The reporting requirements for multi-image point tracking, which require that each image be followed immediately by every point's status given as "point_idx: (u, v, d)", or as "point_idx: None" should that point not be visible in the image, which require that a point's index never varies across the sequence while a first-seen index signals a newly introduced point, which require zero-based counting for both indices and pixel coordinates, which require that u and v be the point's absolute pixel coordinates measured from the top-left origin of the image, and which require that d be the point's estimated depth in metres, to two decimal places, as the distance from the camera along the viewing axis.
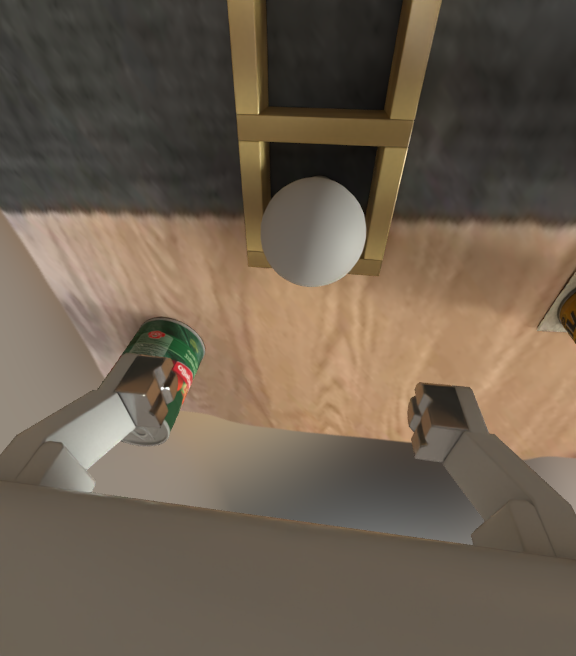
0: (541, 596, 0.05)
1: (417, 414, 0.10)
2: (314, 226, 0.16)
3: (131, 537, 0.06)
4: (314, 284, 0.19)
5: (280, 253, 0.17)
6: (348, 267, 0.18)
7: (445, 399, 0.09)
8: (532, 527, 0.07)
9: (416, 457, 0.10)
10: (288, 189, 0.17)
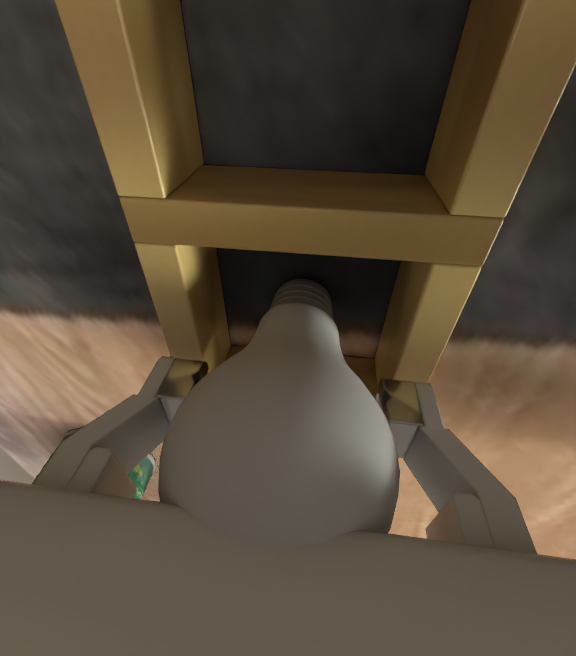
0: (541, 596, 0.05)
1: None
2: None
3: (131, 537, 0.06)
4: None
5: None
6: None
7: (404, 395, 0.09)
8: (474, 519, 0.07)
9: None
10: (209, 414, 0.07)
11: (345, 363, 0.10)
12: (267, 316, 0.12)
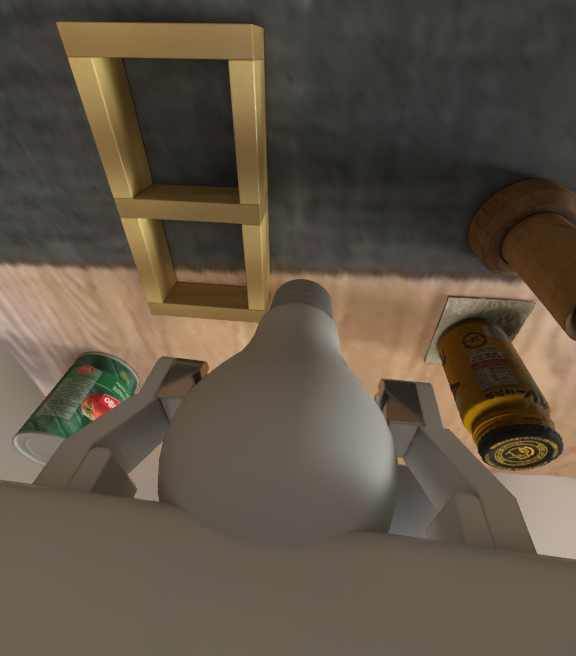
0: (541, 596, 0.05)
1: None
2: None
3: (131, 537, 0.06)
4: None
5: None
6: None
7: (404, 395, 0.09)
8: (474, 519, 0.07)
9: None
10: (208, 415, 0.07)
11: (344, 364, 0.10)
12: (267, 317, 0.12)
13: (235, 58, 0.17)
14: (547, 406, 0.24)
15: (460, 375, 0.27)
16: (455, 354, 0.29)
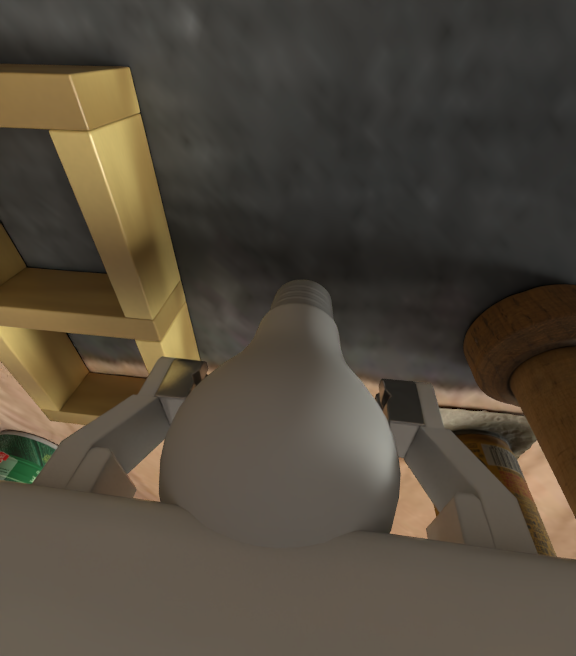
0: (541, 596, 0.05)
1: None
2: None
3: (131, 537, 0.06)
4: None
5: None
6: None
7: (405, 395, 0.09)
8: (475, 520, 0.07)
9: None
10: (210, 416, 0.07)
11: (345, 364, 0.10)
12: (267, 317, 0.12)
13: (58, 128, 0.10)
14: None
15: None
16: None
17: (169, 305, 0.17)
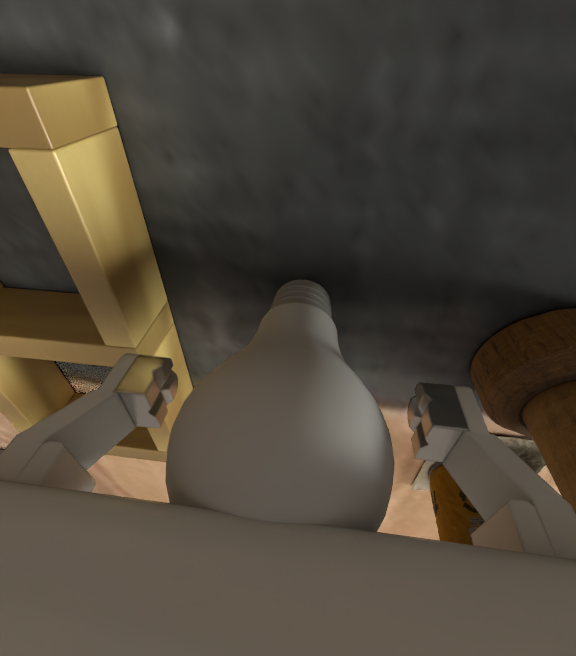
0: (541, 596, 0.05)
1: (417, 414, 0.10)
2: None
3: (131, 537, 0.06)
4: None
5: None
6: None
7: (445, 399, 0.09)
8: (532, 527, 0.07)
9: (416, 457, 0.10)
10: (214, 407, 0.07)
11: (343, 360, 0.10)
12: (268, 315, 0.12)
13: (19, 147, 0.09)
14: None
15: None
16: (450, 512, 0.20)
17: (154, 329, 0.15)
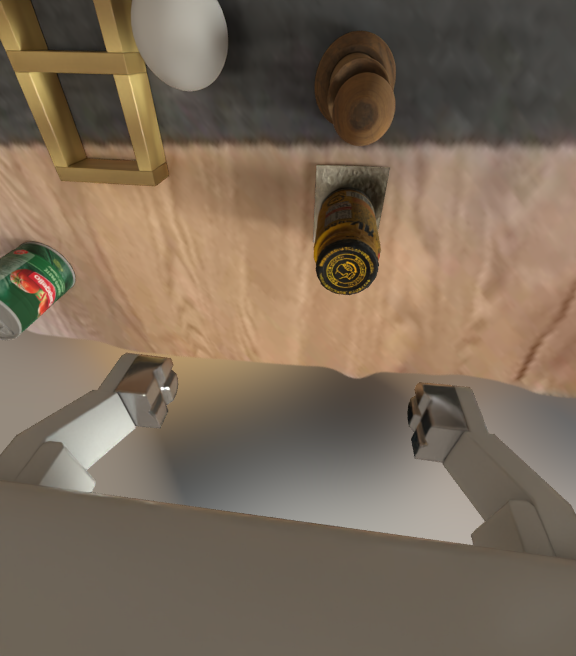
0: (541, 596, 0.05)
1: (417, 414, 0.10)
2: None
3: (131, 537, 0.06)
4: (180, 73, 0.21)
5: (141, 31, 0.20)
6: (206, 52, 0.21)
7: (445, 399, 0.09)
8: (532, 527, 0.07)
9: (416, 457, 0.10)
10: None
11: None
12: None
13: None
14: (373, 235, 0.28)
15: (318, 226, 0.32)
16: (321, 214, 0.33)
17: (134, 58, 0.28)
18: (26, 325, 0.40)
